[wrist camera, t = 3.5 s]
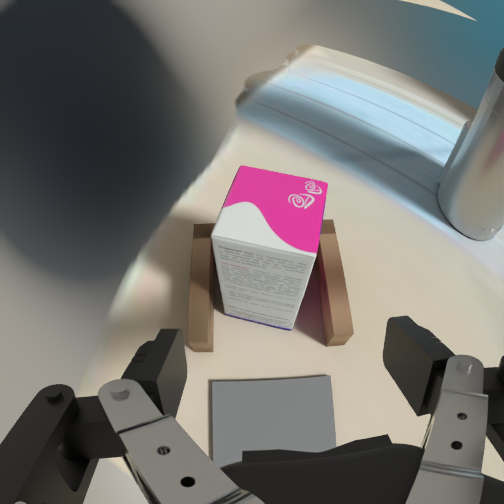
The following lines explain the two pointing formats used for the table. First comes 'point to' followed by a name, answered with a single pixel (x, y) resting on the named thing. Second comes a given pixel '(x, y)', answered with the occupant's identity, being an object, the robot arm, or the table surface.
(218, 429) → the gray mat
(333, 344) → the walnut frame
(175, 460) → the robot arm
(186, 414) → the table surface
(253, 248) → the supplement box
